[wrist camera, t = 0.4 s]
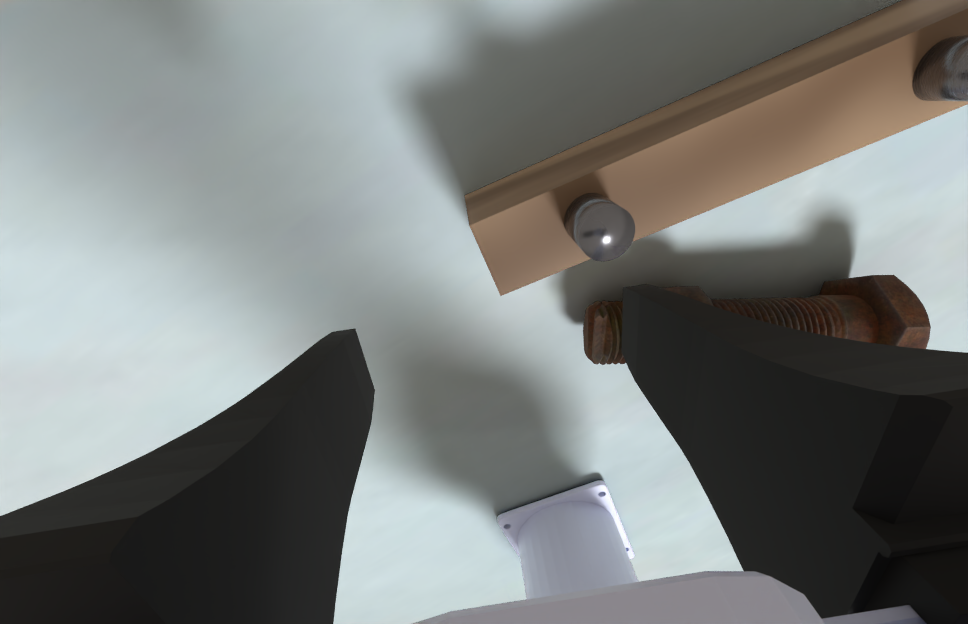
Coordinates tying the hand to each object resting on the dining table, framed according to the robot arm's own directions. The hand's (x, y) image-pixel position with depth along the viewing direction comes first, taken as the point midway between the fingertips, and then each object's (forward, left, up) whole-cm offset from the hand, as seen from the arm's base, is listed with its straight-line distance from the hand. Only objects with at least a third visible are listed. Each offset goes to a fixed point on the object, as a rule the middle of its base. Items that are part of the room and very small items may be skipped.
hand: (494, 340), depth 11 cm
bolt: (-9, -10, -10) cm, 17 cm away
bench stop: (0, -10, -10) cm, 14 cm away
